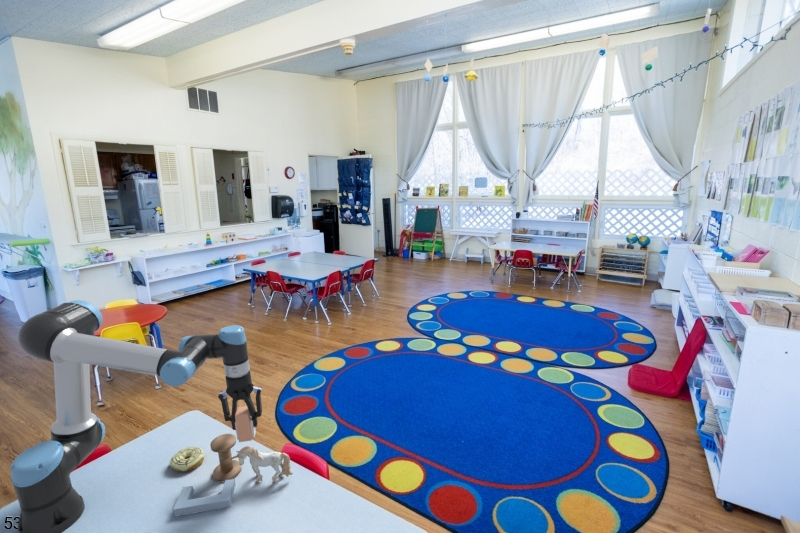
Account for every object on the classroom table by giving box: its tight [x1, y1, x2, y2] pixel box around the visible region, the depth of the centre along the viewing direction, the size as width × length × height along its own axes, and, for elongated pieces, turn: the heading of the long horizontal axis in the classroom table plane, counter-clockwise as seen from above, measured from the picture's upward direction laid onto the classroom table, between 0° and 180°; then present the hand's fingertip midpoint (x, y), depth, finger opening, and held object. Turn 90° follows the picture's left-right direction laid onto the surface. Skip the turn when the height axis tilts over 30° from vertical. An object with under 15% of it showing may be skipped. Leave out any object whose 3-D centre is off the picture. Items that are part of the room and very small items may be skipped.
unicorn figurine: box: [227, 445, 294, 484], centre depth 132 cm, size 7×20×13 cm, turn 107°
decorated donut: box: [169, 446, 205, 473], centre depth 142 cm, size 10×11×4 cm
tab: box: [235, 405, 253, 443], centre depth 131 cm, size 4×5×10 cm
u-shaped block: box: [173, 478, 237, 517], centre depth 125 cm, size 16×9×2 cm, turn 102°
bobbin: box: [209, 433, 242, 483], centre depth 136 cm, size 9×9×12 cm
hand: (246, 435), depth 132 cm, fingers closed on tab, 4 cm apart
